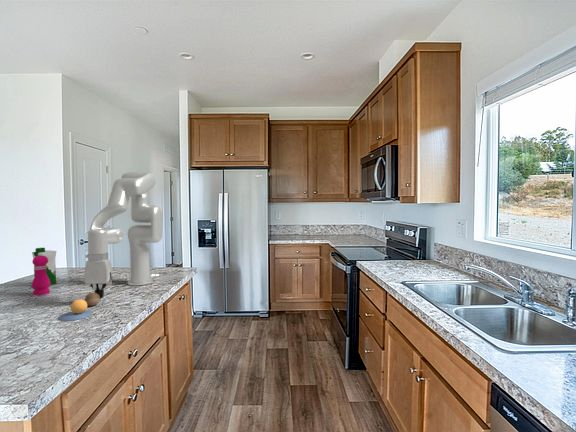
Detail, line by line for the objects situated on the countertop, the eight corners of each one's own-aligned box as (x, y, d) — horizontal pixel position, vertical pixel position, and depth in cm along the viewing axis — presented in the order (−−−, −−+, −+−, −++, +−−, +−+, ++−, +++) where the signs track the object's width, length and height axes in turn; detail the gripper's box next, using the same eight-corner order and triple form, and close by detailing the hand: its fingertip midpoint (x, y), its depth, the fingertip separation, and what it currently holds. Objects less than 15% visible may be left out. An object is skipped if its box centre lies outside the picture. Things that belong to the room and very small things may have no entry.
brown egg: (88, 292, 134) (87, 306, 133) (102, 292, 138) (101, 305, 137) (83, 292, 137) (81, 306, 136) (97, 292, 142) (95, 305, 140)
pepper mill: (40, 296, 152) (39, 253, 151) (27, 295, 153) (26, 253, 153) (54, 291, 159) (53, 251, 158) (42, 291, 160) (41, 251, 160)
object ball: (83, 295, 130) (75, 298, 125) (93, 305, 130) (85, 309, 125) (73, 303, 130) (64, 308, 125) (82, 314, 130) (74, 318, 125)
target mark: (88, 309, 133) (88, 308, 133) (95, 315, 125) (95, 315, 125) (55, 315, 125) (55, 315, 125) (60, 323, 117) (60, 322, 117)
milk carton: (30, 286, 170) (29, 248, 170) (48, 282, 179) (47, 246, 178) (42, 287, 168) (41, 249, 167) (59, 283, 176) (58, 246, 175)
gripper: (75, 258, 138) (76, 301, 139) (111, 258, 139) (112, 300, 140) (85, 256, 145) (86, 296, 146) (119, 255, 146) (120, 295, 147)
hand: (99, 298), depth 143 cm, fingers closed
